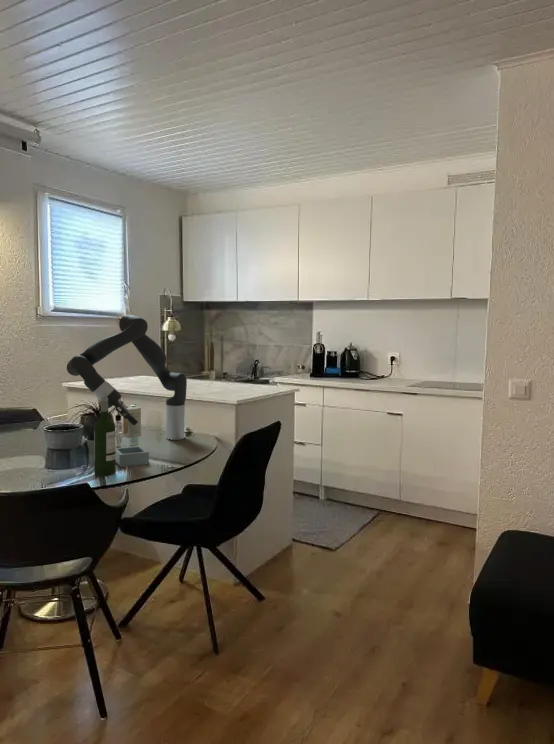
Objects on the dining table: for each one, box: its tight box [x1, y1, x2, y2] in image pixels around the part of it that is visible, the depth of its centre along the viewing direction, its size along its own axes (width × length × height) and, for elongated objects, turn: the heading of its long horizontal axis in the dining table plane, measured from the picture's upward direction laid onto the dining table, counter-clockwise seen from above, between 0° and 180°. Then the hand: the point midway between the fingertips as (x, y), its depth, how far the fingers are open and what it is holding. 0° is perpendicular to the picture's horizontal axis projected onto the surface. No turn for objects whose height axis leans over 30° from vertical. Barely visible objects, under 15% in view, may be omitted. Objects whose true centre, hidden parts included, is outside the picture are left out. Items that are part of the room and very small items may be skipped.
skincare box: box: [122, 406, 142, 439], centre depth 226 cm, size 6×4×12 cm
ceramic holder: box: [115, 445, 150, 468], centre depth 227 cm, size 12×12×5 cm
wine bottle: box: [93, 397, 117, 477], centre depth 209 cm, size 8×8×30 cm
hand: (136, 422), depth 227 cm, fingers closed on skincare box, 6 cm apart
